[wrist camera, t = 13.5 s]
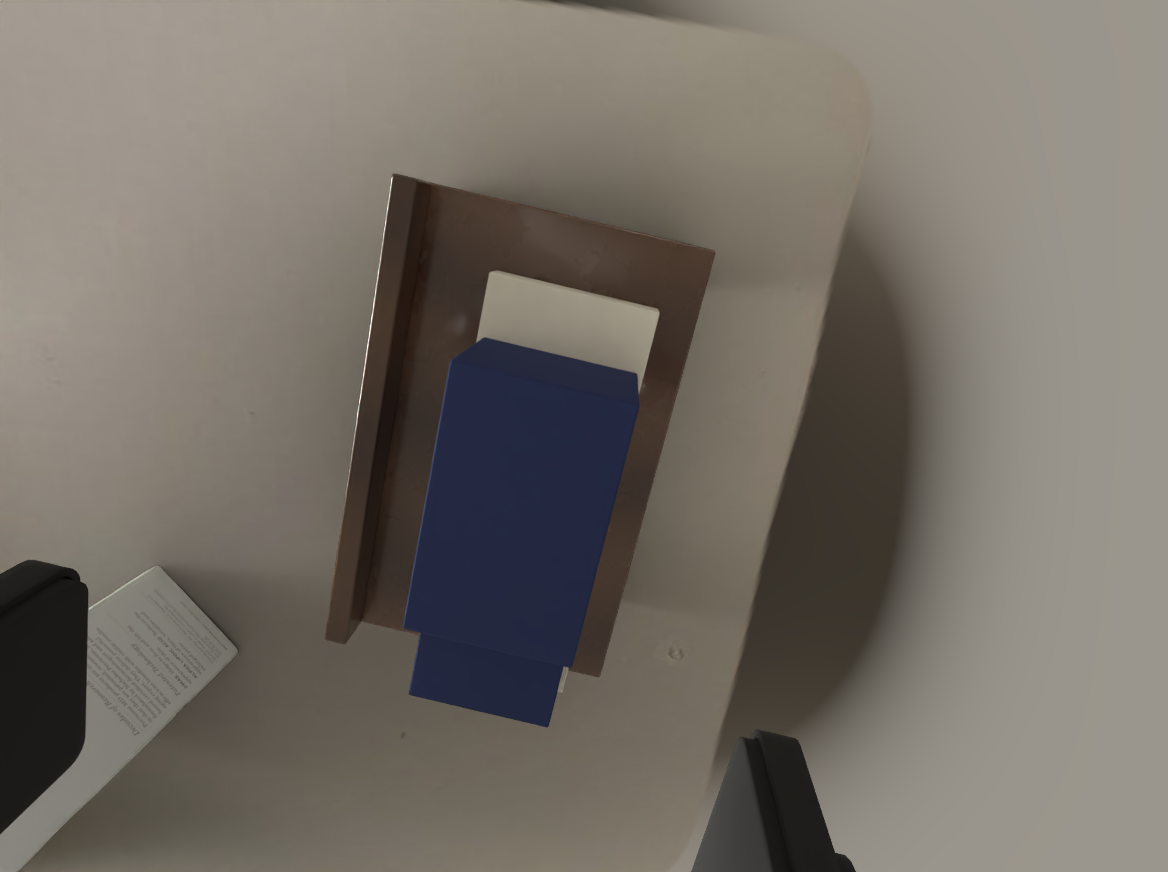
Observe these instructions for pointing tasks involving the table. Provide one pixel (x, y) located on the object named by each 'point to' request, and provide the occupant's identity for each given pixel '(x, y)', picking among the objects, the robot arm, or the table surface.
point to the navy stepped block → (523, 493)
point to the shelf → (450, 326)
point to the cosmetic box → (125, 695)
